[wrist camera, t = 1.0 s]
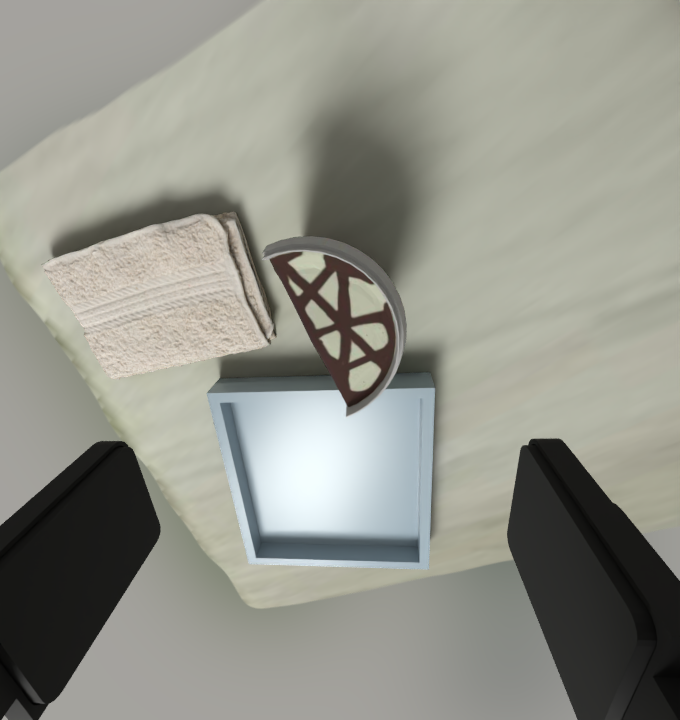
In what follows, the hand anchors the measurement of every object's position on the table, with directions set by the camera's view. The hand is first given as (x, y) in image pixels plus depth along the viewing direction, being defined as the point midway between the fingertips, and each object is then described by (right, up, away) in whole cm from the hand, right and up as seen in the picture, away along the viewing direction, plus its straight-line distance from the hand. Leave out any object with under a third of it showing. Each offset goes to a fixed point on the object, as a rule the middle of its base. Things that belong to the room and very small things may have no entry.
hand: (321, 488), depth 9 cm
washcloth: (-15, +9, +24) cm, 30 cm away
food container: (+2, +9, +22) cm, 24 cm away
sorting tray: (-1, -8, +30) cm, 31 cm away
